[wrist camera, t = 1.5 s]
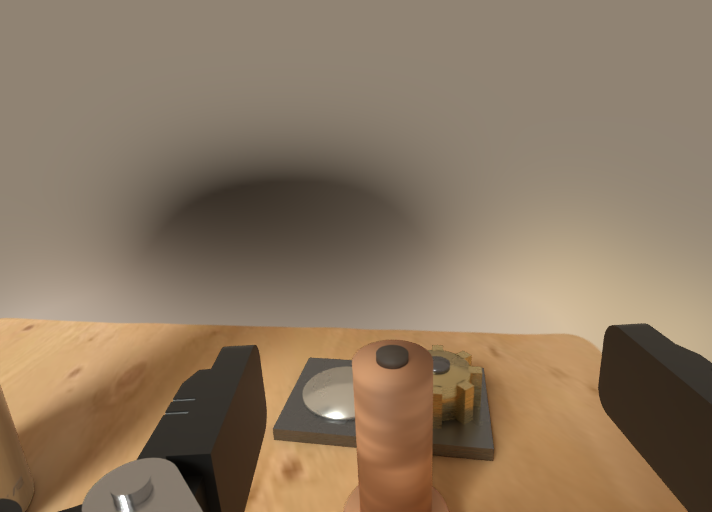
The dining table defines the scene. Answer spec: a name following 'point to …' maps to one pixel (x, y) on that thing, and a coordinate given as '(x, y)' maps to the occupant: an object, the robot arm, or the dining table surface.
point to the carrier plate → (337, 414)
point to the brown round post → (394, 429)
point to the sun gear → (454, 386)
